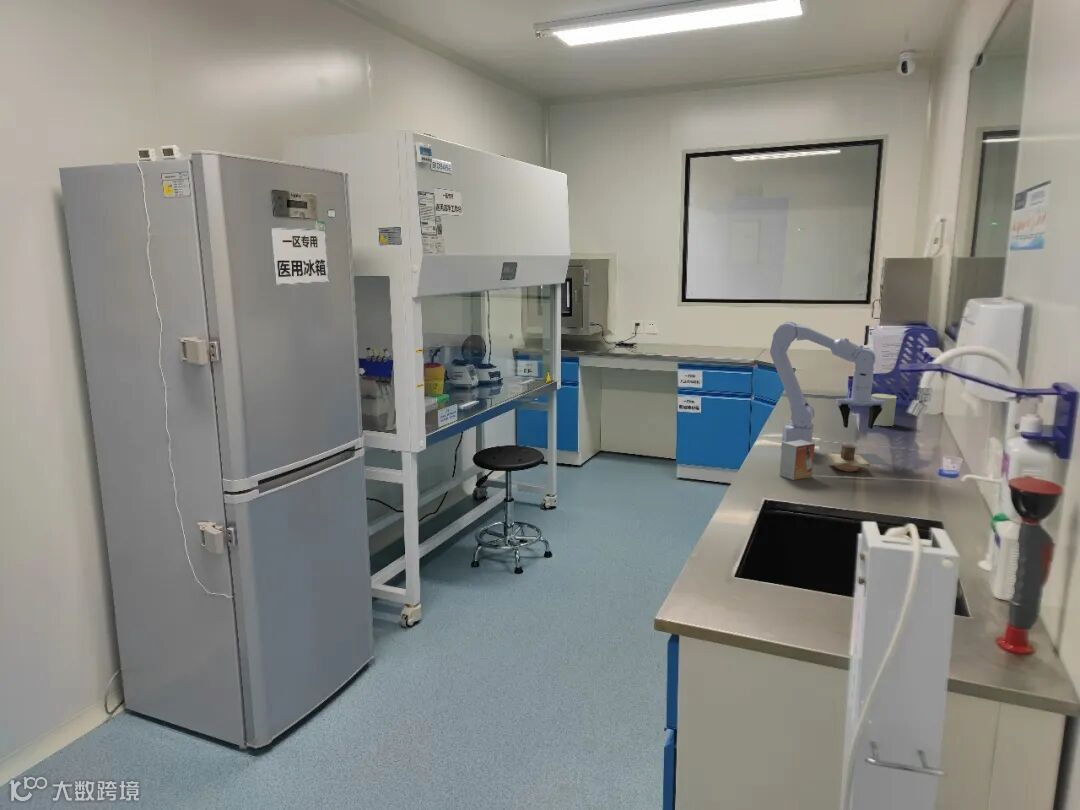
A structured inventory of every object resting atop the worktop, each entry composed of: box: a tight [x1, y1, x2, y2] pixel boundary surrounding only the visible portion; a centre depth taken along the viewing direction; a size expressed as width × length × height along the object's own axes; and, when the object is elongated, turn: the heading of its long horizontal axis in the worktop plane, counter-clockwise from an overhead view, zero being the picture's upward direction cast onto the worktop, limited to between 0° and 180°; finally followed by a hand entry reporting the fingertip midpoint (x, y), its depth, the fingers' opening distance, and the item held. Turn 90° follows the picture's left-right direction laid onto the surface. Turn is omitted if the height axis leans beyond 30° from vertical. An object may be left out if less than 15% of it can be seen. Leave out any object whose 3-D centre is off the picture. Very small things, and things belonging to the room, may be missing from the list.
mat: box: [831, 451, 890, 466], centre depth 225 cm, size 14×12×1 cm
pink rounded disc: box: [834, 465, 860, 473], centre depth 213 cm, size 7×7×3 cm
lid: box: [825, 444, 871, 468], centre depth 213 cm, size 10×10×5 cm
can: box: [871, 393, 898, 427], centre depth 274 cm, size 9×9×12 cm
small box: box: [779, 440, 816, 481], centre depth 207 cm, size 8×6×10 cm
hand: (857, 427), depth 225 cm, fingers open, 7 cm apart
